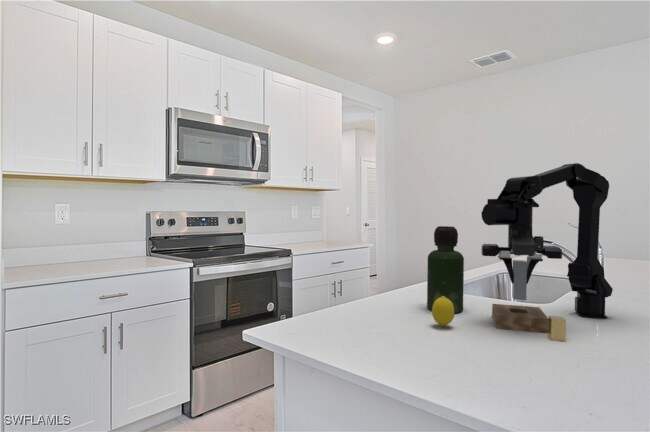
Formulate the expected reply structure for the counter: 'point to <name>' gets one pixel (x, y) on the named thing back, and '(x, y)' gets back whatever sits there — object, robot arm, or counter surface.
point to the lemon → (443, 311)
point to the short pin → (557, 328)
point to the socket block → (519, 318)
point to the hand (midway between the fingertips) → (519, 283)
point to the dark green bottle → (445, 269)
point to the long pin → (519, 280)
